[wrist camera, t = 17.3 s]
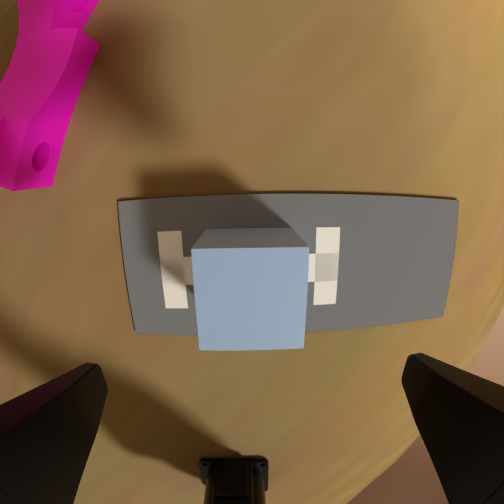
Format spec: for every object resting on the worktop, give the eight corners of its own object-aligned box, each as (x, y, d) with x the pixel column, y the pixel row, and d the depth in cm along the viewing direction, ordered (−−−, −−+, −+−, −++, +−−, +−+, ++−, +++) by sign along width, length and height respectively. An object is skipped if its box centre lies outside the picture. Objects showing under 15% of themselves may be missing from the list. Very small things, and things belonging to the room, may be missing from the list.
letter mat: (441, 315, 19) (443, 316, 19) (136, 331, 19) (135, 333, 19) (457, 200, 17) (459, 200, 17) (119, 201, 17) (117, 201, 17)
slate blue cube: (289, 306, 19) (303, 348, 14) (210, 307, 18) (199, 350, 14) (291, 227, 17) (309, 247, 12) (206, 229, 17) (191, 248, 12)
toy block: (53, 185, 17) (-23, 196, 9) (2, 168, 16) (-66, 174, 9) (129, -5, 13) (89, -60, 6) (69, -2, 13) (22, -41, 5)
